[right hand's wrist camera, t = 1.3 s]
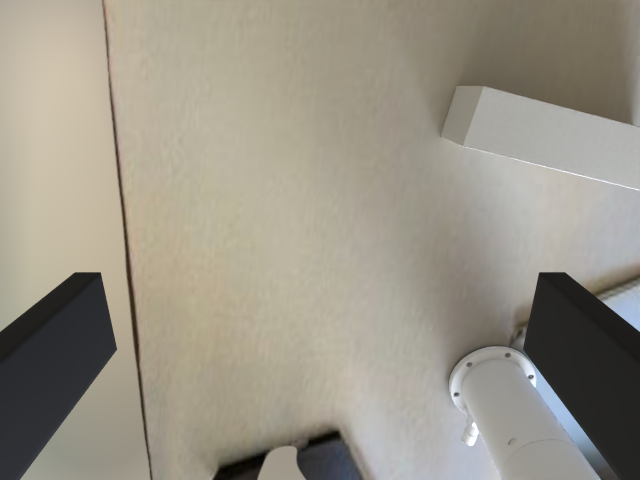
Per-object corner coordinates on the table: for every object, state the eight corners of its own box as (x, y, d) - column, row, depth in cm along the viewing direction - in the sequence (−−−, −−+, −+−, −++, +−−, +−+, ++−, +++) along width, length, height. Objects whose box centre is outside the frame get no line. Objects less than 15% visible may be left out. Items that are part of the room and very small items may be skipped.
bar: (439, 136, 50) (462, 146, 42) (456, 85, 48) (483, 85, 40) (609, 179, 52) (661, 196, 44) (633, 131, 50) (691, 140, 42)
